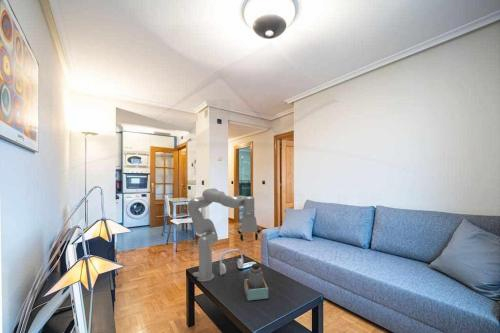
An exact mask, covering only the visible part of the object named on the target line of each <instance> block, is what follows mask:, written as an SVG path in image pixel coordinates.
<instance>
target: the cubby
mask: <svg viewBox="0 0 500 333" xmlns="http://www.w3.org/2000/svg"><path fill="white" fill-rule="evenodd" d="M243 282H244V284H243V286H244V293H245V298H246V299H247V290H249V286H248V278H245V279H244V281H243ZM263 288H268V289H269V287H268V285H267V283H266V280H265V278H264V277H263Z"/></svg>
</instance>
